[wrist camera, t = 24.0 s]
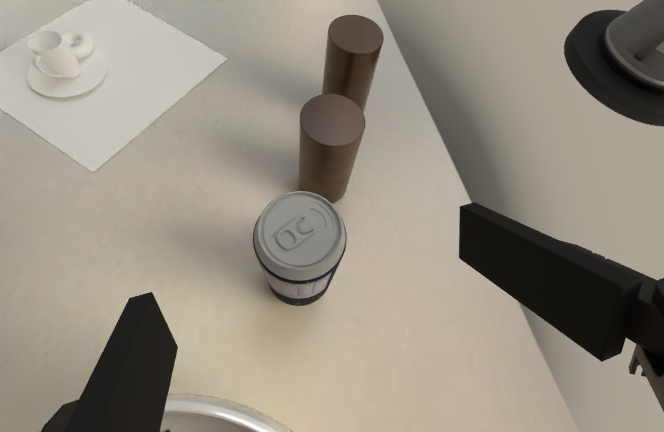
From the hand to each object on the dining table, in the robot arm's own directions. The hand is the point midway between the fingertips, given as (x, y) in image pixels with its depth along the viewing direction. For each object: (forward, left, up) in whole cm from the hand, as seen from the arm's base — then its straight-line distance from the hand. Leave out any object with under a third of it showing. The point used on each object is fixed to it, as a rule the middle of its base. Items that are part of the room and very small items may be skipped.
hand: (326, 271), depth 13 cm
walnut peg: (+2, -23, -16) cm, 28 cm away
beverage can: (+2, -3, -16) cm, 16 cm away
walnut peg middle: (+2, -13, -16) cm, 21 cm away
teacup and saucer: (+30, -21, -16) cm, 40 cm away
